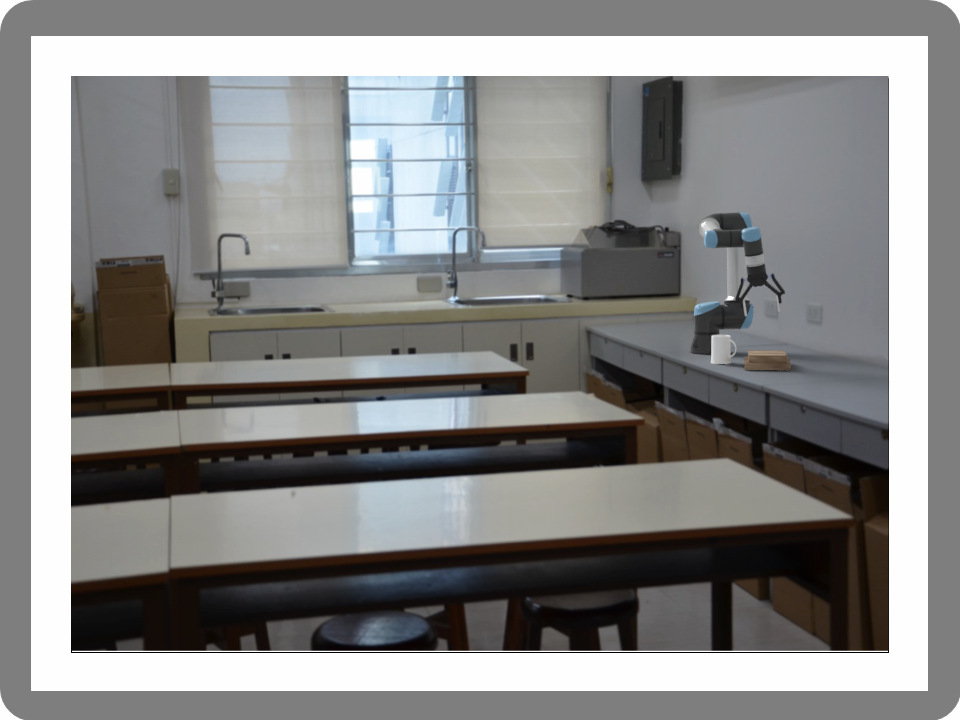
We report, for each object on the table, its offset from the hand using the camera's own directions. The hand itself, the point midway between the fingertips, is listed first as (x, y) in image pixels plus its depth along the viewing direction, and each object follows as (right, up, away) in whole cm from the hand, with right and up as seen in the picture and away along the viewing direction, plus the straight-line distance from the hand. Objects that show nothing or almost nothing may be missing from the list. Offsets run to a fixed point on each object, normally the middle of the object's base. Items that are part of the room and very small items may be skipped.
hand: (762, 313), depth 405 cm
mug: (-14, -21, +9) cm, 27 cm away
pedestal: (+1, -23, -4) cm, 23 cm away
